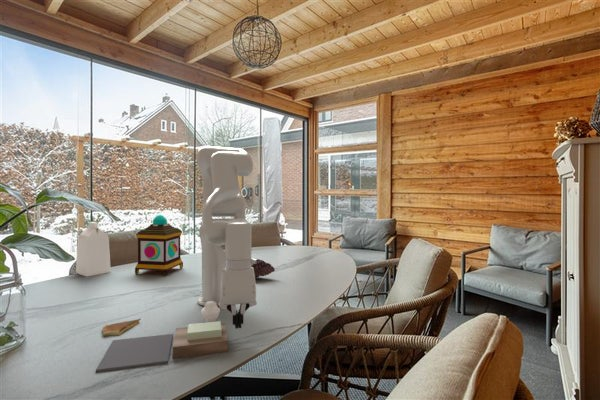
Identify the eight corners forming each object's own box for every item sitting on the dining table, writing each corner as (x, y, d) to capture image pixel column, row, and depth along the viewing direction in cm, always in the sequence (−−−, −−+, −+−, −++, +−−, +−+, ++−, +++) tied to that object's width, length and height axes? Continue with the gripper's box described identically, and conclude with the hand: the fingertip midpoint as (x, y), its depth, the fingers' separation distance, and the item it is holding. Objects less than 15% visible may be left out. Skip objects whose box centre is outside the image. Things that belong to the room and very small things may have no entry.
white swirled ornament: (220, 324, 107) (220, 303, 107) (200, 326, 105) (200, 304, 105) (219, 317, 113) (219, 297, 113) (200, 319, 111) (200, 298, 111)
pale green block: (187, 340, 89) (187, 333, 89) (188, 331, 95) (188, 324, 95) (221, 336, 92) (221, 329, 92) (220, 327, 97) (220, 321, 97)
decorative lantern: (153, 266, 185) (153, 213, 184) (186, 267, 183) (186, 213, 182) (130, 275, 166) (130, 215, 165) (167, 277, 163) (167, 216, 162)
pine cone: (275, 276, 166) (275, 257, 166) (273, 282, 156) (273, 261, 156) (240, 275, 167) (241, 256, 167) (236, 281, 157) (236, 260, 157)
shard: (140, 323, 109) (140, 317, 108) (144, 331, 102) (144, 325, 102) (102, 330, 103) (102, 324, 103) (103, 339, 96) (103, 333, 96)
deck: (176, 338, 97) (176, 328, 97) (224, 332, 101) (224, 323, 101) (172, 358, 85) (172, 347, 85) (227, 351, 89) (227, 340, 89)
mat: (113, 342, 94) (113, 340, 94) (173, 335, 98) (173, 333, 98) (95, 372, 78) (95, 369, 78) (167, 362, 83) (167, 360, 83)
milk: (75, 272, 169) (75, 222, 168) (99, 268, 179) (99, 220, 178) (86, 276, 162) (86, 224, 161) (110, 271, 172) (110, 222, 171)
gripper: (261, 260, 101) (261, 319, 102) (211, 262, 97) (210, 324, 97) (266, 265, 94) (265, 329, 94) (212, 268, 89) (211, 335, 90)
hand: (237, 326), depth 96 cm, fingers closed
